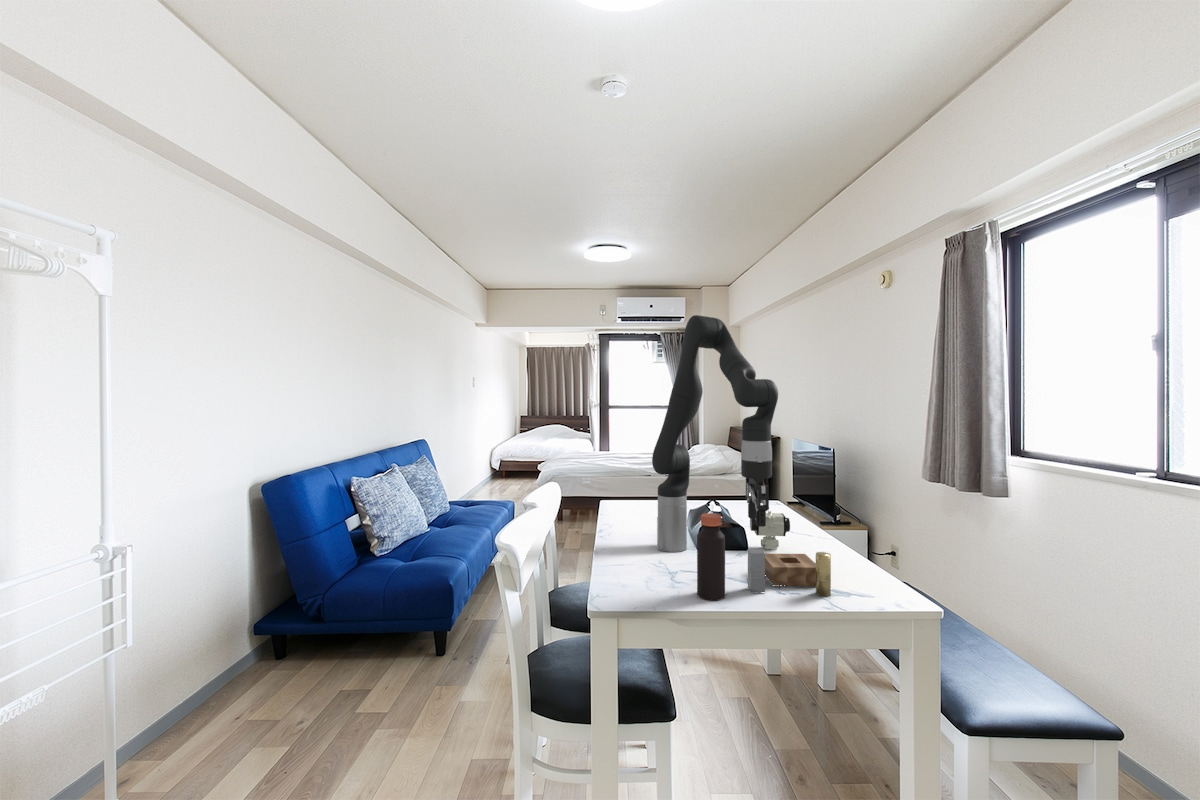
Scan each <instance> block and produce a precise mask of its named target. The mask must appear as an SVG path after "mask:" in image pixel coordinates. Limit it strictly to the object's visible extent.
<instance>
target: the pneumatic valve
mask: <svg viewBox="0 0 1200 800" xmlns="http://www.w3.org/2000/svg"><path fill="white" fill-rule="evenodd" d="M749 528H750V531H751V532H754V534H755V535H756V536H761V537H762V539H760V546H761V547H762V548H763V549H764V550H765V549H776V550H777V549H778V548H779V547H780V546H779V545H780V544H779V543H780V542H779V539H776V537H786V534H787V533H789V532H790V531H791V521H790V518H789V517H786V515H785V514H784V513H778V512H776V513H775V512H772V510H767V512H766V526H764V527H758V526H757V525H756V518H749Z"/></svg>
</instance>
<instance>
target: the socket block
mask: <svg viewBox="0 0 1200 800" xmlns="http://www.w3.org/2000/svg"><path fill="white" fill-rule="evenodd" d="M765 575H766V576H765V578H766V577H767V578H768V579H769V580H768V579H767V578H766V579H767V580H768V582H769V581H770V582H771V583H772V584H771V583H770V582H769V583H770V584H771V586H772V585H779V586H778V587H780V585H782V586H784V585H785V586H816V561H814V560H812V559H811V558H810V557H809V555H807V554H806V553H765Z"/></svg>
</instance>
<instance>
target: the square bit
mask: <svg viewBox="0 0 1200 800" xmlns="http://www.w3.org/2000/svg"><path fill="white" fill-rule="evenodd" d="M765 554H766V553H765V552H764V551H763V549H762V548H761V549H760V548H759V549H756V548H754V549H752V548H751V549H750V548H748V549H747V589H748V588H749V589H748V591H749V590H750V591H749V592H750V593H751V592H765V593H766V576H765Z"/></svg>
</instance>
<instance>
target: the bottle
mask: <svg viewBox="0 0 1200 800" xmlns="http://www.w3.org/2000/svg"><path fill="white" fill-rule="evenodd" d="M700 526H701V528H702V529H701V530H700V531H699V532H698V533H697V535H696V578H697V580H696V581H697V582H696V584H697V585H696V586H697V587H696V592H697V593H696V594H697V597H699V598H701V599H703V600H706V601H719V600H722V599H724V598H725V596H726V537H725V534H724V533H723V532H722V531H721V529H720V528H721V526H722V515H720V514H718V513H712V512H711V513H709V512H707V513H701V515H700Z"/></svg>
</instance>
